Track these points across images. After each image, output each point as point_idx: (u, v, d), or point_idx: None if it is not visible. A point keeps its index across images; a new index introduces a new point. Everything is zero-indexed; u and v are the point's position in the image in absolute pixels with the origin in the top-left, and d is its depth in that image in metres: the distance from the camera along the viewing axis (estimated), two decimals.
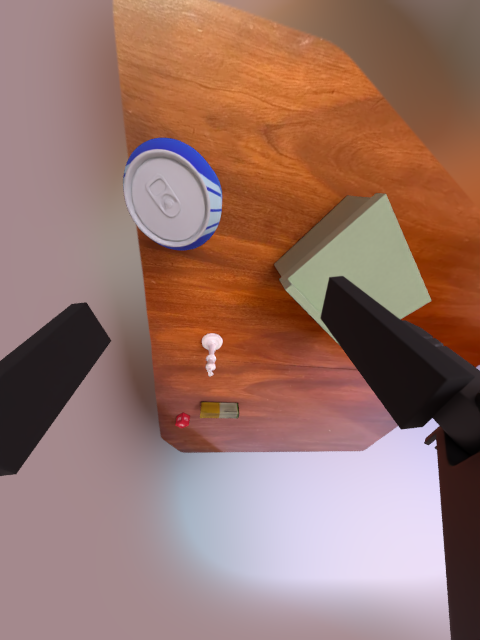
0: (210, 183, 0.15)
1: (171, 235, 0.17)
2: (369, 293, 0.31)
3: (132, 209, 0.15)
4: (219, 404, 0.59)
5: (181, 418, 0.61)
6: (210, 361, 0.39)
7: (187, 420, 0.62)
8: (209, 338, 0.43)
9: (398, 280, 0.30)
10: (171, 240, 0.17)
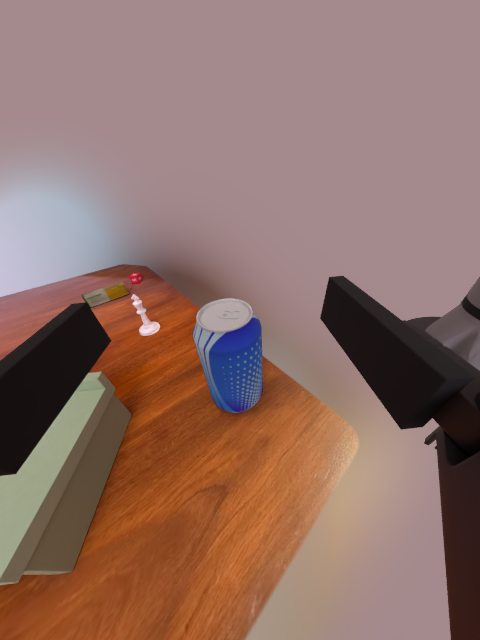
0: (213, 341, 0.20)
1: (213, 307, 0.24)
2: None
3: (239, 302, 0.24)
4: (109, 298, 0.61)
5: (138, 278, 0.71)
6: (140, 306, 0.43)
7: (132, 279, 0.71)
8: (153, 328, 0.46)
9: None
10: (211, 307, 0.24)
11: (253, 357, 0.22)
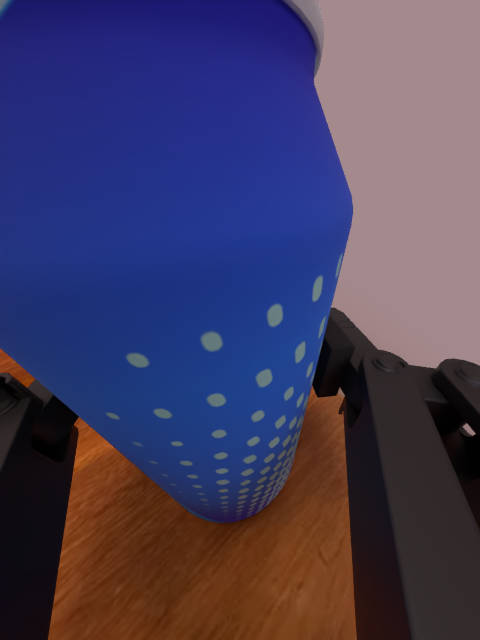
0: None
1: None
2: None
3: None
4: None
5: None
6: None
7: None
8: None
9: None
10: None
11: (309, 352, 0.04)
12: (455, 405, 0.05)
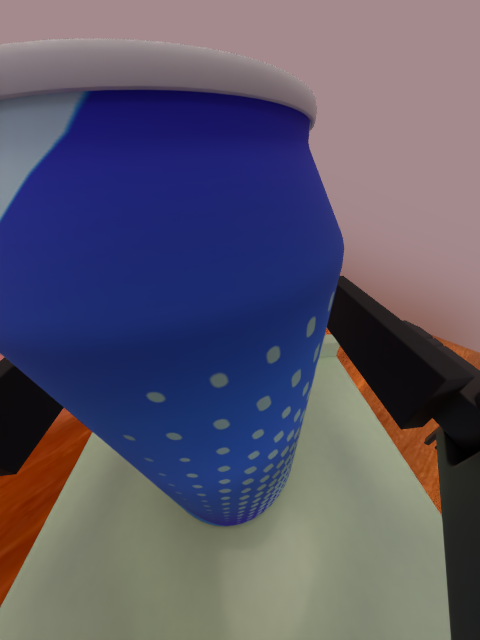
0: None
1: None
2: None
3: None
4: None
5: None
6: None
7: None
8: None
9: (188, 562, 0.09)
10: None
11: (305, 375, 0.04)
12: None
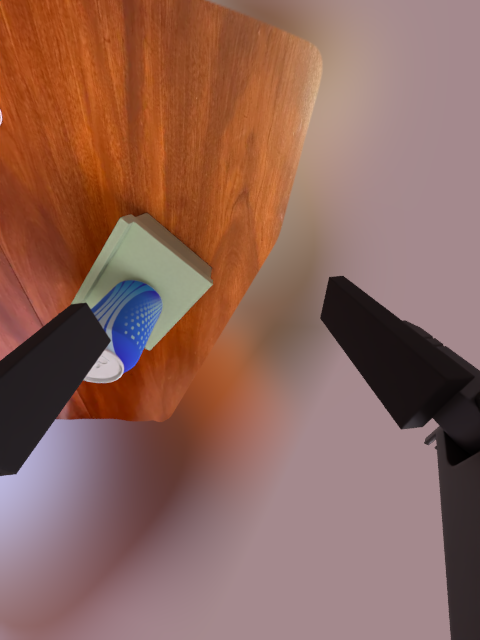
0: None
1: None
2: None
3: None
4: None
5: None
6: None
7: None
8: None
9: (159, 320, 0.38)
10: None
11: (143, 338, 0.26)
12: None
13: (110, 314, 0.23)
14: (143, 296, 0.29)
